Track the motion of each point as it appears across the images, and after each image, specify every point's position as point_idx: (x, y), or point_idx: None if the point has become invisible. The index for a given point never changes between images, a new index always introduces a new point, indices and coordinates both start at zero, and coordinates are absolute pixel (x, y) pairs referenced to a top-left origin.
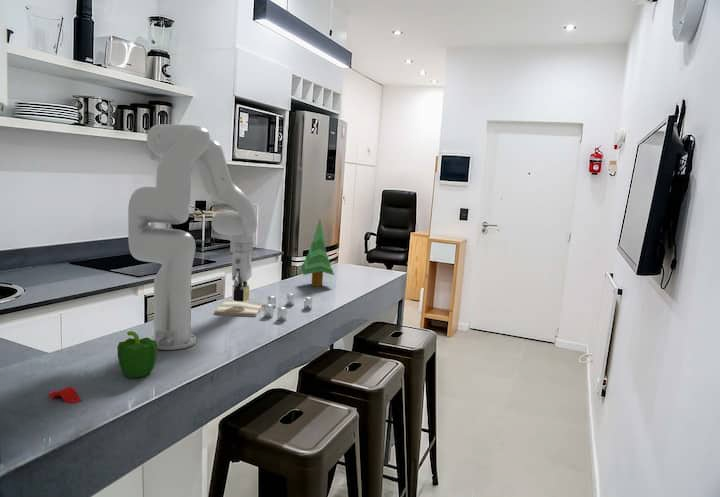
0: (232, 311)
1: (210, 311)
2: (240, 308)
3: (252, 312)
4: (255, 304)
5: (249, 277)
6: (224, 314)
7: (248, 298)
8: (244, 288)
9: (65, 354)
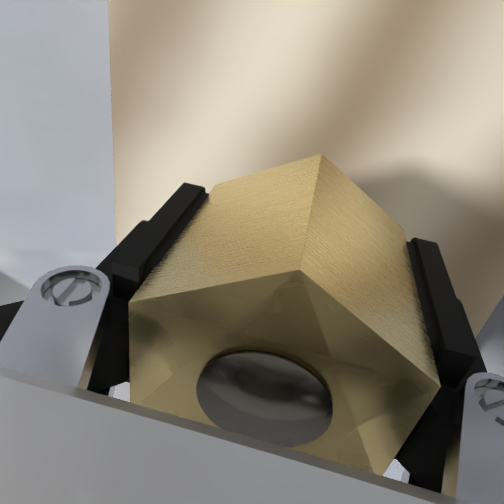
0: (473, 284)
1: None
2: None
3: None
4: (187, 37)
5: (183, 466)
6: None
7: (323, 166)
8: (412, 343)
9: None
